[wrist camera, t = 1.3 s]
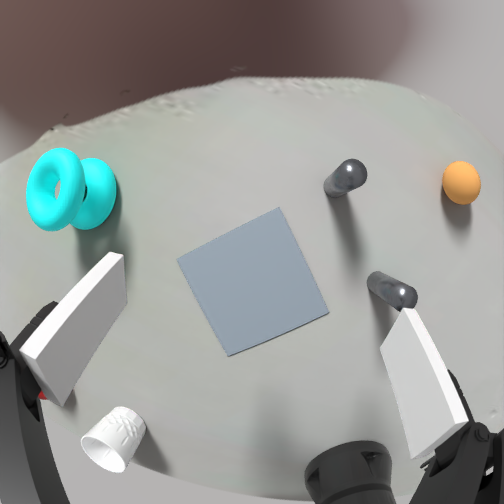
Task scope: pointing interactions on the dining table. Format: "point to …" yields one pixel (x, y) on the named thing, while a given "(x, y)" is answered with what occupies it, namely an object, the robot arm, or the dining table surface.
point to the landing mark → (253, 283)
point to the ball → (461, 182)
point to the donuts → (70, 191)
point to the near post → (346, 178)
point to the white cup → (114, 439)
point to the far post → (392, 291)
